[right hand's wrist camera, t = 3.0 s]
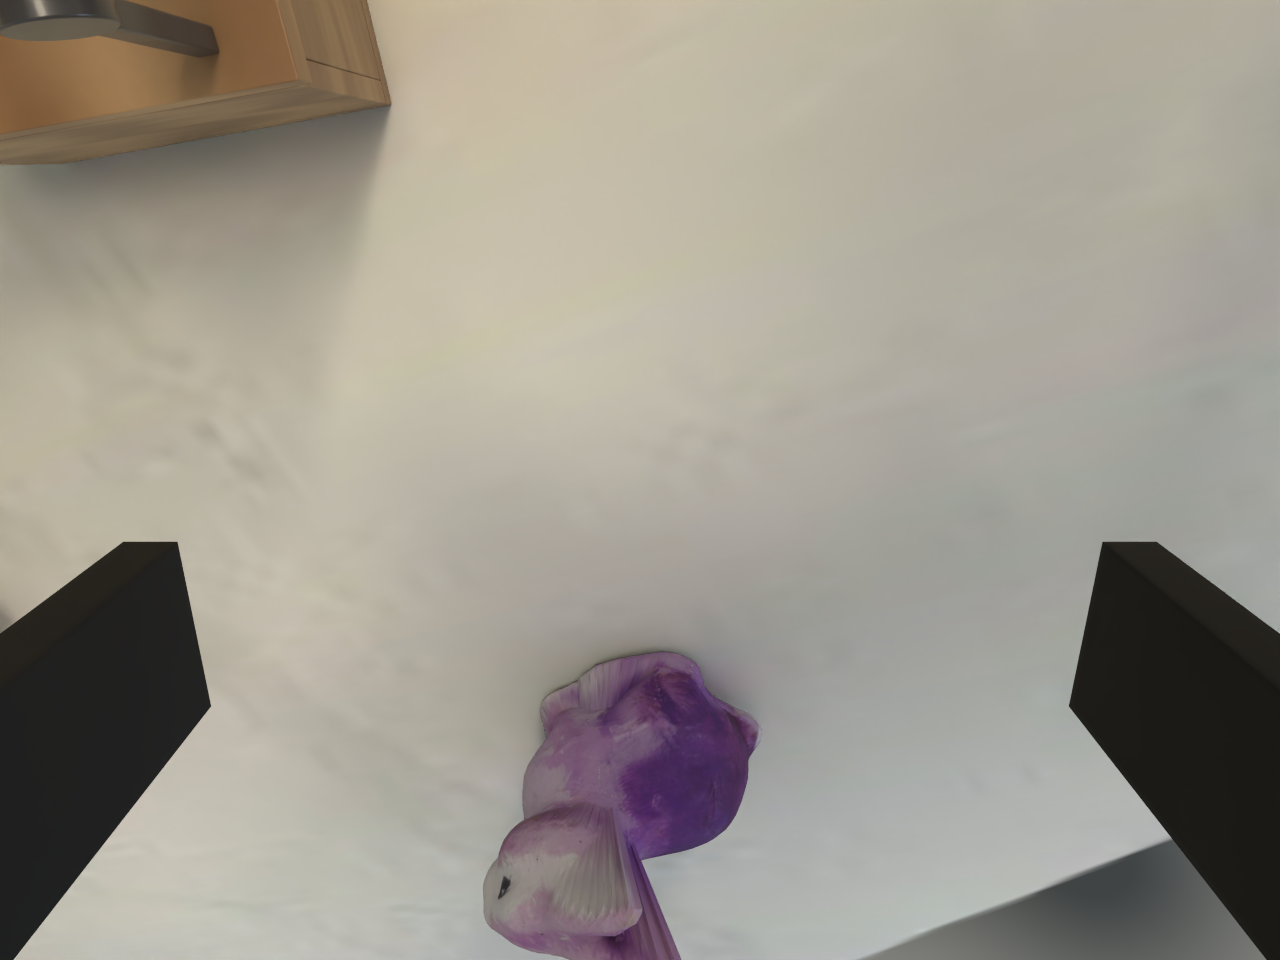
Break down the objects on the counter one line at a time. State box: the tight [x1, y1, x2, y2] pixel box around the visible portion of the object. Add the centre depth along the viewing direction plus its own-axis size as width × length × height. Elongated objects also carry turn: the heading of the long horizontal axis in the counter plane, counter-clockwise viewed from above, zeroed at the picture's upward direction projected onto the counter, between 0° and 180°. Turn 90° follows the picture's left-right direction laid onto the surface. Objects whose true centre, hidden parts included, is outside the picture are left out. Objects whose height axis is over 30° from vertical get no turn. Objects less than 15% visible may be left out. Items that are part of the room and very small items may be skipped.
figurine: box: [483, 651, 762, 960], centre depth 36 cm, size 9×10×15 cm
